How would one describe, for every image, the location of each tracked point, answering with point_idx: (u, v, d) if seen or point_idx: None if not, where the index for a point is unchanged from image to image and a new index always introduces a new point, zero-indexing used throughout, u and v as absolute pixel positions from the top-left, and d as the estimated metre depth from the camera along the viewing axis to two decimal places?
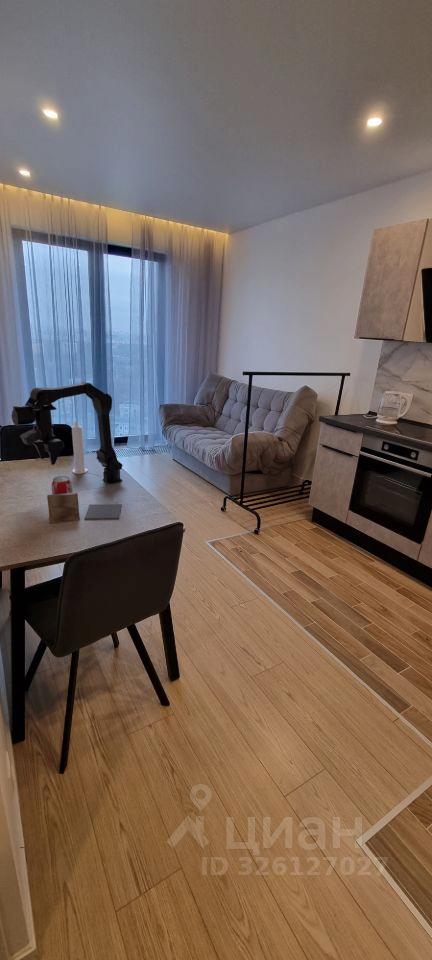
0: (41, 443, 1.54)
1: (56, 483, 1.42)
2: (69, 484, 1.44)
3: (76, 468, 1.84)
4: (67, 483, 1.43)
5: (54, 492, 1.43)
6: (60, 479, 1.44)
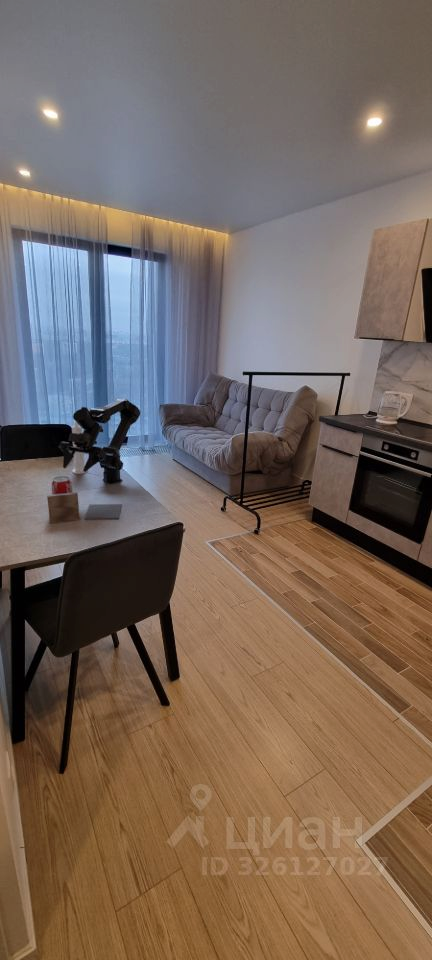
0: (70, 454, 1.55)
1: (56, 483, 1.42)
2: (69, 484, 1.44)
3: (76, 468, 1.84)
4: (67, 483, 1.43)
5: (54, 492, 1.43)
6: (60, 479, 1.44)
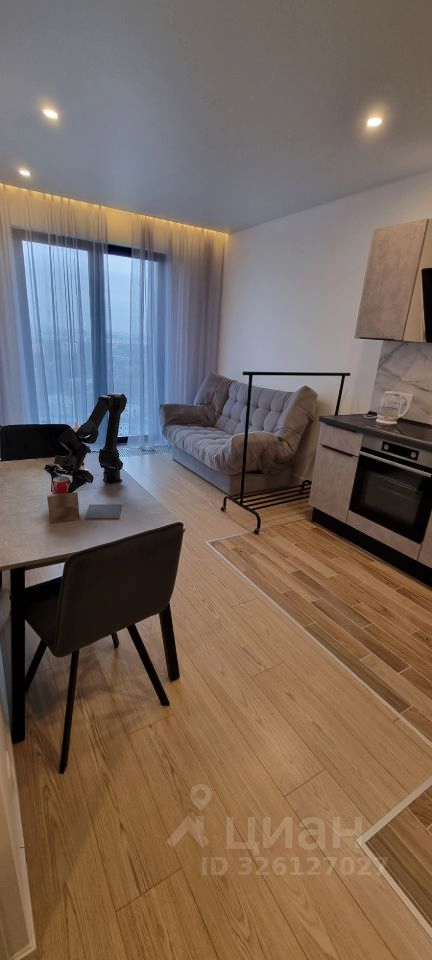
0: None
1: (56, 483, 1.42)
2: (69, 484, 1.44)
3: None
4: (67, 483, 1.43)
5: (54, 492, 1.43)
6: (60, 479, 1.44)
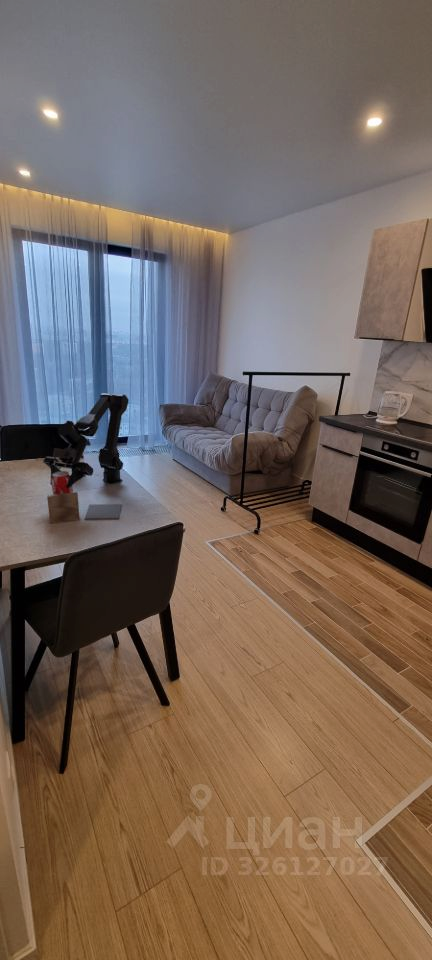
0: (57, 470, 1.48)
1: (56, 478, 1.41)
2: None
3: None
4: (67, 477, 1.43)
5: (54, 487, 1.42)
6: (59, 474, 1.44)
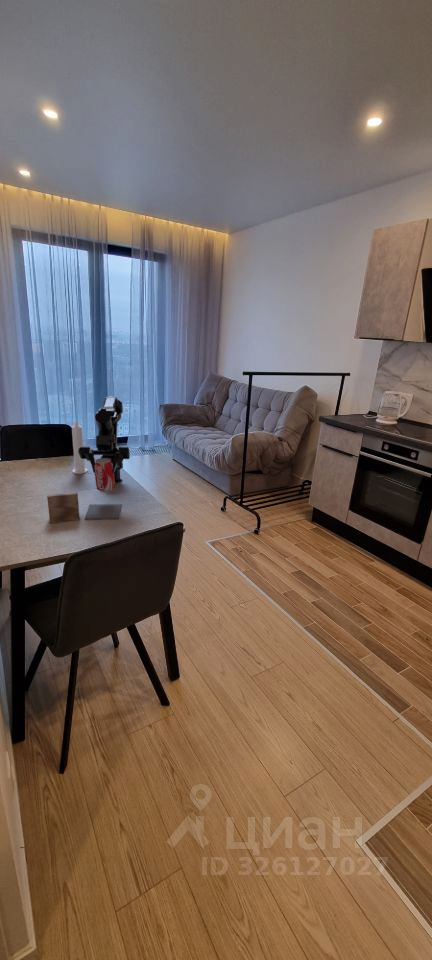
0: None
1: (103, 464, 1.46)
2: (112, 463, 1.50)
3: (76, 468, 1.84)
4: (111, 463, 1.49)
5: (101, 473, 1.47)
6: (102, 460, 1.48)
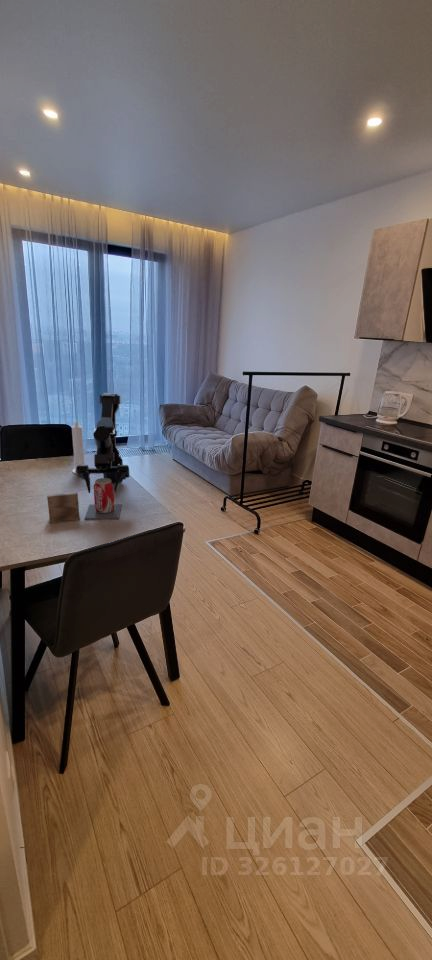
0: (89, 477, 1.45)
1: (103, 485, 1.40)
2: None
3: None
4: (112, 483, 1.43)
5: (101, 495, 1.41)
6: (102, 481, 1.43)
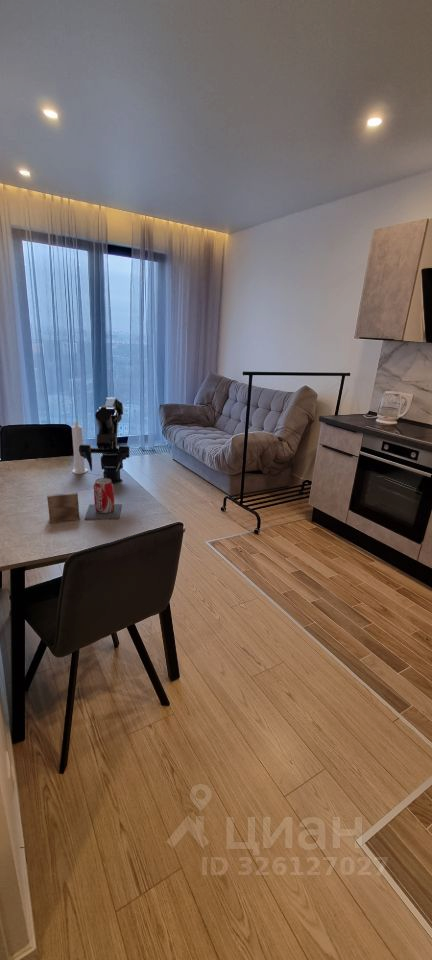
0: None
1: (103, 485, 1.40)
2: (112, 484, 1.44)
3: (76, 468, 1.84)
4: (112, 483, 1.43)
5: (101, 495, 1.41)
6: (102, 481, 1.43)
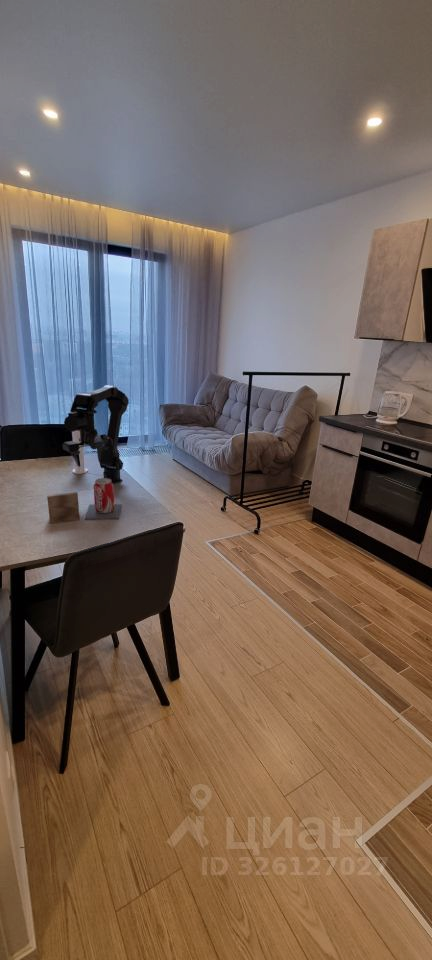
0: None
1: (103, 485, 1.40)
2: None
3: (76, 468, 1.84)
4: (112, 483, 1.43)
5: (101, 495, 1.41)
6: (102, 481, 1.43)
